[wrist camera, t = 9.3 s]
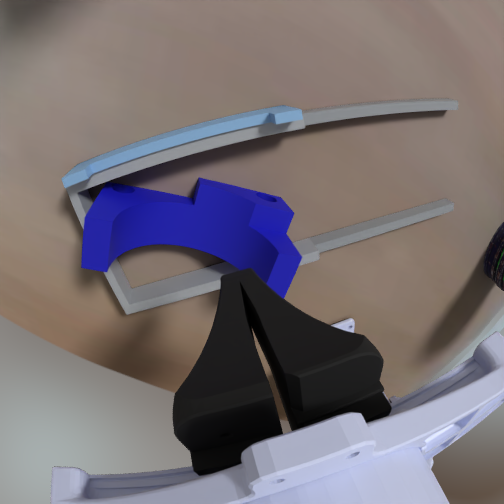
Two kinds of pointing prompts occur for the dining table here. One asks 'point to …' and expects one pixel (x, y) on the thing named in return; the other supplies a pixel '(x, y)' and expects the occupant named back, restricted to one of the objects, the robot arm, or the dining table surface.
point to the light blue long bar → (180, 139)
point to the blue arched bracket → (195, 227)
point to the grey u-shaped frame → (308, 248)
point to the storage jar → (496, 258)
